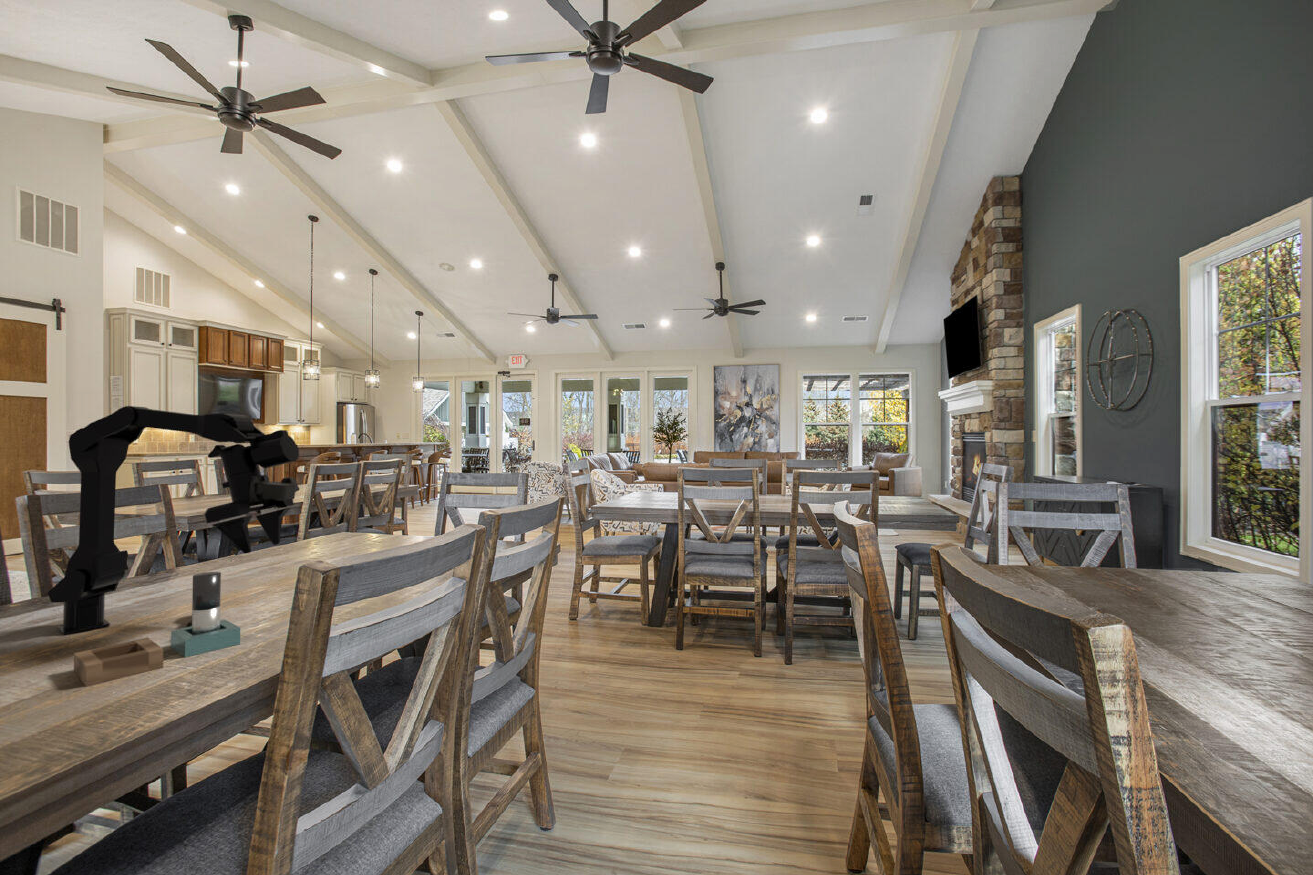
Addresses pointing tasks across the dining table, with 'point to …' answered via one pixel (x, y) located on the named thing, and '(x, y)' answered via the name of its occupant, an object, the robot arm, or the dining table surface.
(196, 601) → the grey and white cylinder
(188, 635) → the socket block
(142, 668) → the frame
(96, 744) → the dining table surface
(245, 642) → the dining table surface
